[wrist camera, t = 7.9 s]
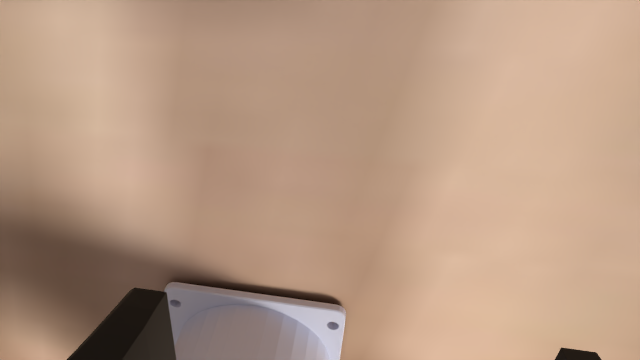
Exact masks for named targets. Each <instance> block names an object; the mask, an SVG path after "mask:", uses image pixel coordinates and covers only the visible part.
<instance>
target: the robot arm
mask: <svg viewBox="0 0 640 360" xmlns="http://www.w3.org/2000/svg"><path fill="white" fill-rule="evenodd" d="M345 319H346V311H345V309H344V308H343V307H341V306H340V305H336V304H330V303H323V302H315V301H308V300H301V299H294V298H287V297H279V296H272V295H265V294H258V293H251V292H244V291H236V290H229V289H222V288H215V287H208V286H200V285H193V284H186V283H179V282H171V283H168V284H167V285H166V287H165V290H164V292H161V291H154V290H147V289H140V288H134V289H132V290H131V291H129V292H128V294H127V295H126V296H125V297H124V298H123V299H122V300H121V302H120V303H119V304H118V305H117V306H116V307H115V308H114V309H113V311H112V312H111V313H110V314H109V315H108V316H107V317H106V318H105V319H104V321H103V322H102V323H101V324H100V325H99V326H98V327H97V328H96V329H95V330H94V331H93V333H92V334H91V335H90V336H89V337H88V338H87V339H86V340H85V341H84V342H83V343H82V344H81V345H80V346H79V347H78V349H77V350H76V351H75V352H74V353H73V354H72V355H71V356H70V357H69V358H68V359H67V360H340V353H341V346H342V340H343V333H344V326H345ZM555 360H601V358H600V357H599V356H598V354H597V353H596V352H589V351H581V350H574V349H567V348H561V349H560V351H559V353H558V355H557V357H556V359H555Z"/></svg>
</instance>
